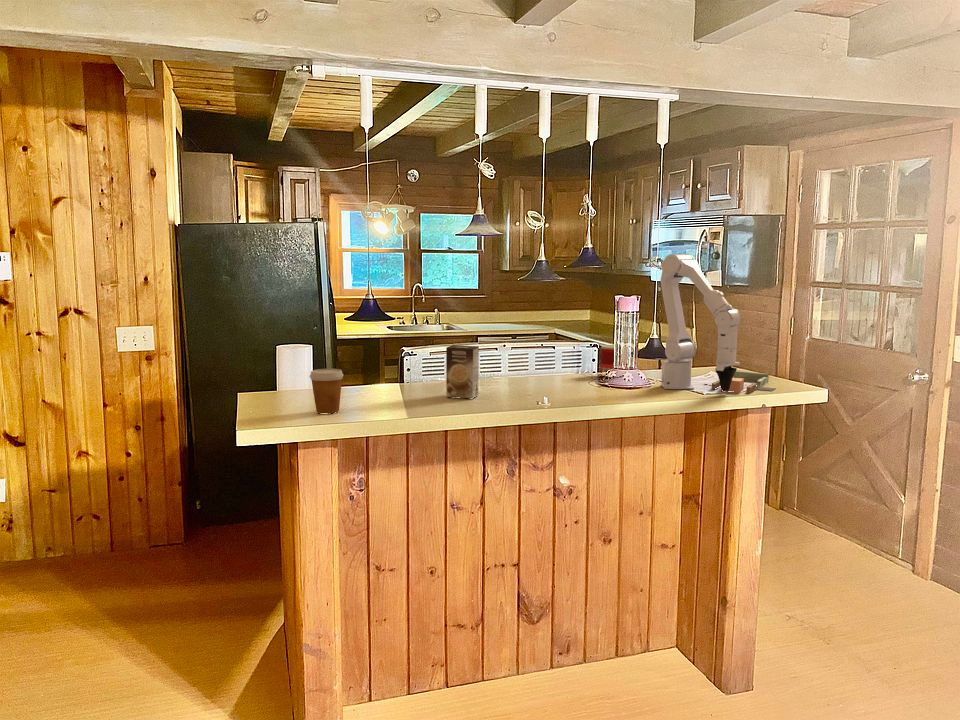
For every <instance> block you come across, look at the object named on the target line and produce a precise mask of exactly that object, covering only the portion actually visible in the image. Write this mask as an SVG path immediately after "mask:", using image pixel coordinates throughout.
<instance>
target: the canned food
mask: <svg viewBox="0 0 960 720" xmlns="http://www.w3.org/2000/svg"><path fill="white" fill-rule="evenodd" d="M614 345H615V344H604V345H601V348H600V374H601V373H602V372H606V371H608V370H610V369H612V368H613V362H614Z"/></svg>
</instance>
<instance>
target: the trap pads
mask: <svg viewBox="0 0 960 720" xmlns="http://www.w3.org/2000/svg"><path fill="white" fill-rule="evenodd" d="M776 389H777V388H776V387H765V386H762V387H756V390H755V391H764V392H774V391H775V390H776Z"/></svg>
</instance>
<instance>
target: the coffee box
mask: <svg viewBox="0 0 960 720" xmlns="http://www.w3.org/2000/svg"><path fill="white" fill-rule="evenodd" d="M445 351H446V354H445V355H446V358H445V359H446V363H445V364H446V366H445V367H446V369H445V370H446V373H445V374H446V376H445V377H446V380H445V381H446V383H445V384H446V385H445V387H446V391H445V392H446V394H445V397H446V396H447V397H460V398H474V397H475V396H477V395H478V396H479V372H480V371H479V361H480V360H479V359H480V358H479V356H480V353H479V351H480V347H479V346H477V345H476V346H475V345H462V344H461V345H460V344H452V345H449V346H447V347H446V350H445ZM474 399H475V398H474Z"/></svg>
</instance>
